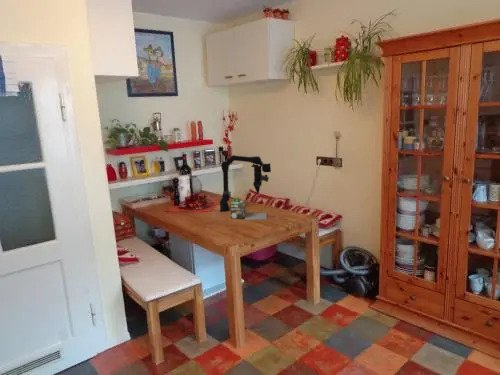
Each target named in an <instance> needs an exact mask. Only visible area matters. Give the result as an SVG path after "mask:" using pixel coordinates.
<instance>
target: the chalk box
mask: <svg viewBox="0 0 500 375" xmlns="http://www.w3.org/2000/svg"><path fill="white" fill-rule="evenodd" d="M232 199H233V200H232V201H231V202H230V203H228V204H229V212H230V219H240V220H241V219H244V218H245V215H246V214H247V212H246V211H247V210H246V204H245V203H246V202H245V201H246V200H240V198H239V197H234V198H232Z"/></svg>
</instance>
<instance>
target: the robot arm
mask: <svg viewBox="0 0 500 375" xmlns="http://www.w3.org/2000/svg"><path fill="white" fill-rule="evenodd" d="M234 161H236V162H246V163H250V164H252V165H251V168H253V187H254V189H255V191H256V193H257V194H259V193H260V188H261V187H262V186H263V185H262V183H263V181H264V182H265V183H268V182H269V179H270V177H269V176H268V174H263V173H271V171H272V170H271V163H264V162H263V161H262V158H261V157H260V156H259V155H256V156H255V155H254V156H252V155H251V156H247V155H245V156H244V155H237V154H236V155H235V154H232V155H231V157H229V158H228V159H227V160H223V162H221V165H220V166H221V170H222V176H223V178H222V179H223V180H222V181H223V190H222V191H223V192H222V196H221V197H222V198H220V201H219V208H220V209H219V212H229V211H230V205H229V204H230V203H229V201H230V199H231V197H232V195H231V194H232V192H231V191H230V190H229V170H230V165H231V164H232V163H233V162H234ZM262 172H263V173H262Z"/></svg>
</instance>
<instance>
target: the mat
mask: <svg viewBox="0 0 500 375" xmlns="http://www.w3.org/2000/svg"><path fill="white" fill-rule="evenodd" d="M267 213H268V212H259V213H258V212H257V213H255V212H252V213H249V212H248V213H247V212H246V215H245V216H244V218H243V219H244V220H243V221H260V220H261V221H262V220H264V221H265V220H267V217H268V214H267Z"/></svg>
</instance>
